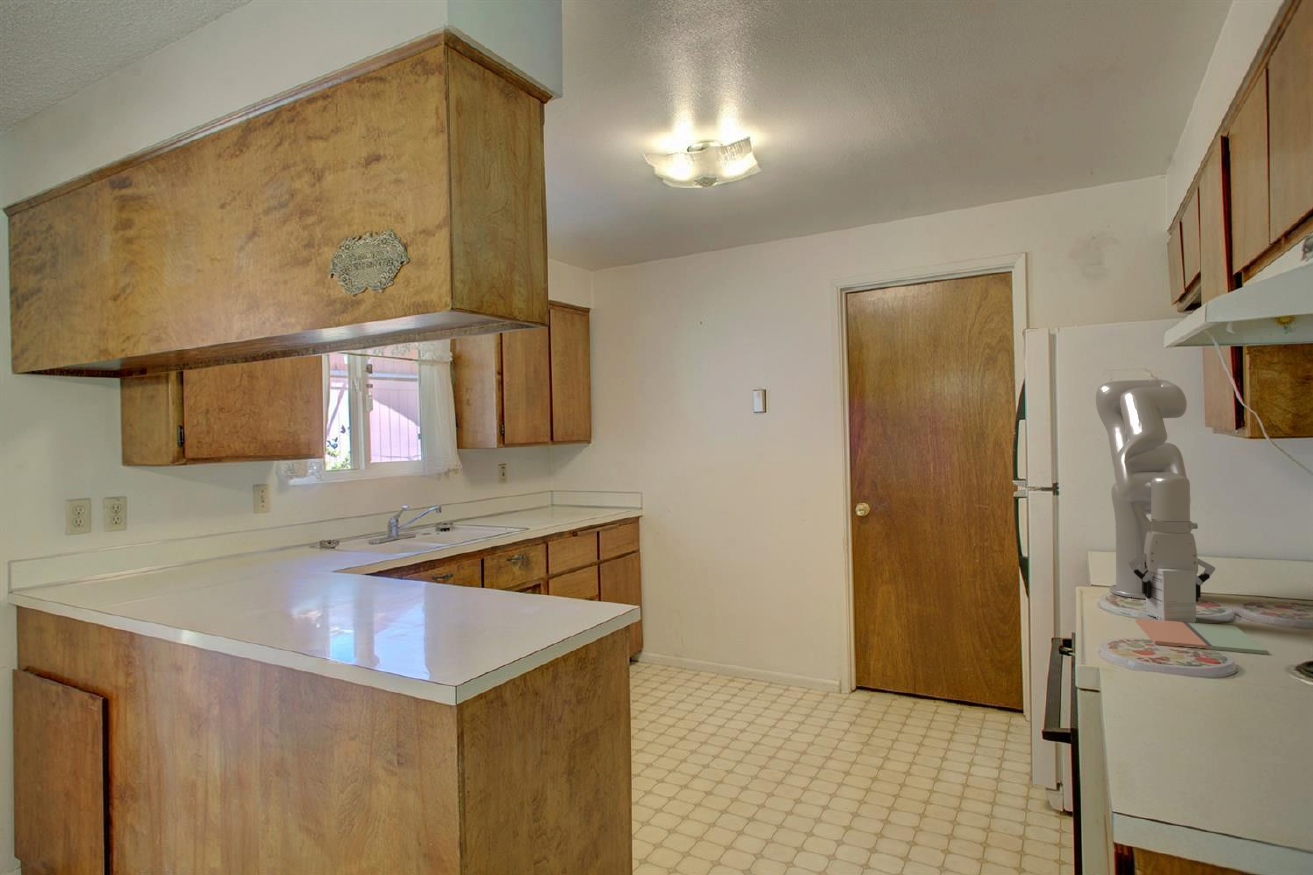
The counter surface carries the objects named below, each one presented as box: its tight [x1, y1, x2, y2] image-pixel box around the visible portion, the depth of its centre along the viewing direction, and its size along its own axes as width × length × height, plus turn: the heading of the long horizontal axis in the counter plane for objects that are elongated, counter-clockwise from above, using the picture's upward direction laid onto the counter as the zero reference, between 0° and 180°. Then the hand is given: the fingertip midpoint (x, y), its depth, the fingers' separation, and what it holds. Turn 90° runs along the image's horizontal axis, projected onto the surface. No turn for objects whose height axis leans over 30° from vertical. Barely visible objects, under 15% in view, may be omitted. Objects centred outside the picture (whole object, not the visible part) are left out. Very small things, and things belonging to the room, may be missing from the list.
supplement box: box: [1145, 565, 1197, 623], centre depth 168 cm, size 7×7×13 cm
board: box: [1135, 617, 1268, 655], centre depth 154 cm, size 18×19×1 cm
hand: (1170, 598), depth 167 cm, fingers closed on supplement box, 8 cm apart
